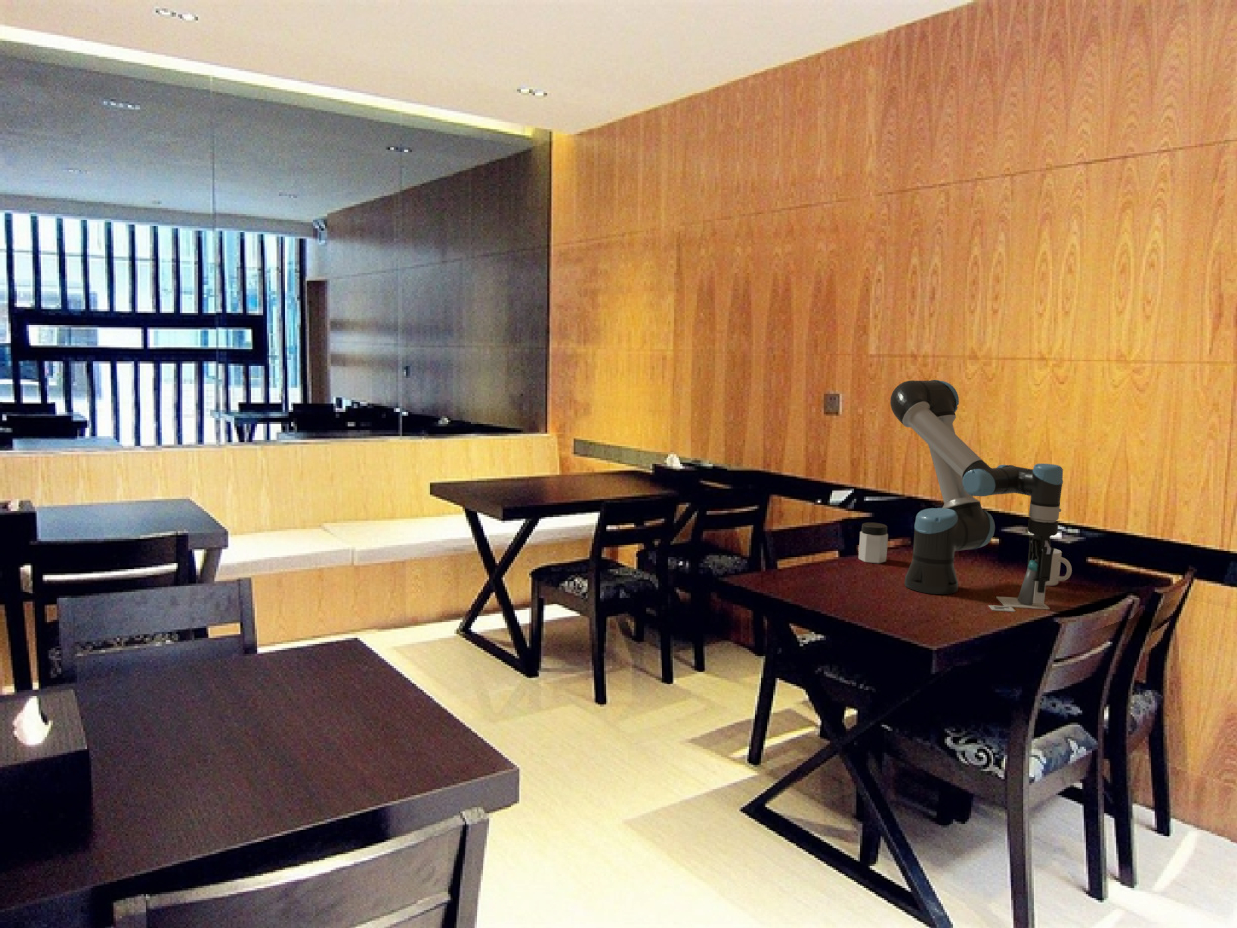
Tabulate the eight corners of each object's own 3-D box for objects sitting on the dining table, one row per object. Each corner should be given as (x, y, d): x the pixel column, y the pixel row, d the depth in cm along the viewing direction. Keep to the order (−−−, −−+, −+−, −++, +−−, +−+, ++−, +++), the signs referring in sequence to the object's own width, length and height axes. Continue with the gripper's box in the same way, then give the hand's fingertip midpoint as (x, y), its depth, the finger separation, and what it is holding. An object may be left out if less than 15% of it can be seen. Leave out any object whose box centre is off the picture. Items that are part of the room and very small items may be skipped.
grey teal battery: (1020, 603, 253) (1034, 561, 250) (1014, 597, 257) (1028, 556, 254) (1035, 606, 253) (1048, 564, 250) (1028, 600, 257) (1042, 558, 254)
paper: (1004, 606, 252) (1004, 605, 252) (996, 597, 261) (996, 596, 261) (1049, 609, 251) (1050, 608, 250) (1039, 600, 259) (1039, 598, 259)
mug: (1075, 586, 275) (1078, 553, 274) (1063, 590, 270) (1066, 557, 269) (1036, 577, 284) (1039, 545, 283) (1024, 581, 279) (1027, 549, 278)
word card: (992, 610, 248) (992, 609, 248) (988, 606, 252) (988, 604, 252) (1015, 611, 247) (1015, 610, 247) (1010, 607, 251) (1011, 606, 251)
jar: (890, 563, 297) (892, 527, 295) (867, 564, 295) (870, 528, 294) (876, 556, 306) (879, 521, 304) (854, 557, 304) (857, 522, 302)
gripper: (1068, 526, 241) (1060, 610, 245) (1047, 513, 258) (1039, 592, 262) (1039, 525, 242) (1031, 608, 246) (1020, 512, 259) (1012, 590, 263)
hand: (1035, 600), depth 254 cm, fingers closed on grey teal battery, 4 cm apart
